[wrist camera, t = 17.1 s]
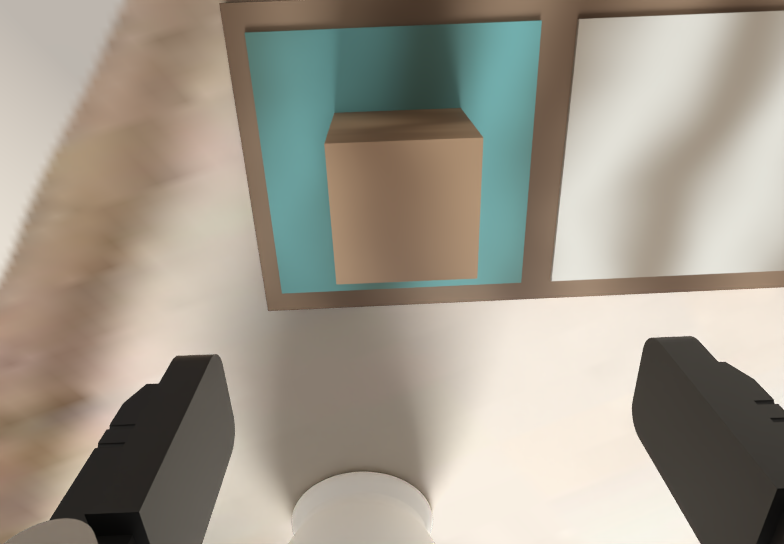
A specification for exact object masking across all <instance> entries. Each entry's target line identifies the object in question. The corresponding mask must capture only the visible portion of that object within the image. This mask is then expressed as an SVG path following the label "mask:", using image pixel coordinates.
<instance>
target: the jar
mask: <svg viewBox="0 0 784 544" xmlns="http://www.w3.org/2000/svg"><path fill="white" fill-rule="evenodd" d="M432 526H433V515H432V511H431V508H430V505H429V503H428V501H427V500H426V498H425V497H424V496H423V494H422V493H421V492H420V491H419V490H417V489H416V488H415V487H414V486H412V485H411V484H409V483H408V482H406V481H404V480H402V479H399V478H397V477H394V476H391V475H387V474H383V473H377V472H350V473H344V474H340V475H336V476H333V477H330V478H327V479H325V480H323V481H321V482H319V483H317V484H316V485H314V486H312V487H311V488H310V489H309V490H307V491H306V492H305V493H304V494H303V495H302V497H301V498H300V499H299V501H298V502H297V504H296V506H295V508H294V511H293V515H292V530H293V534H294V536H293V538H292V539H291V541H290V542H289V544H435V542H434V541H433V539H432V537H431V536H430V534H431V531H432Z"/></svg>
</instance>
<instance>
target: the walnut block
mask: <svg viewBox="0 0 784 544" xmlns="http://www.w3.org/2000/svg"><path fill="white" fill-rule="evenodd" d="M324 147H325V158H326V170H327V182H328V193H329V205H330V216H331V228H332V239H333V251H334V262H335V274H336V284H360V283H384V282H408V281H432V280H456V279H477V275H478V252H479V228H480V205H481V182H482V159H483V136H482V135H481V134H480V132H479V131H478V130H477V128H476V127H475V126H474V124H473V123H472V122H471V121H470V119H469V118H468V117H467V115H466V114H465V113H464V111H463V110H462V109H461V108H447V109H420V110H394V111H367V112H341V113H334V115H333V118H332V121H331V124H330V127H329V131H328V134H327V137H326V140H325V143H324Z"/></svg>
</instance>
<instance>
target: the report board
mask: <svg viewBox="0 0 784 544" xmlns="http://www.w3.org/2000/svg"><path fill="white" fill-rule="evenodd" d="M219 4H220V11H221V17H222V23H223V30H224V36H225V42H226V48H227V55H228V61H229V67H230V74H231V80H232V86H233V93H234V99H235V105H236V111H237V118H238V124H239V130H240V137H241V143H242V149H243V156H244V162H245V168H246V174H247V181H248V187H249V193H250V200H251V206H252V212H253V218H254V225H255V231H256V237H257V244H258V250H259V256H260V263H261V269H262V275H263V281H264V288H265V294H266V300H267V307H268V311H278V310H299V309H321V308H343V307H364V306H386V305H408V304H430V303H451V302H473V301H495V300H516V299H538V298H560V297H582V296H603V295H625V294H647V293H668V292H690V291H712V290H733V289H755V288H777V287H784V0H285V1H260V2H235V3H219ZM447 108H461V109H462V110H463V111H464V113H465V114H466V115H467V117H468V118H469V119H470V121H471V122H472V123H473V124H474V126H475V127H476V128H477V130H478V131H479V132H480V134H481V135H482V136H483V159H482V182H481V205H480V228H479V252H478V275H477V279H456V280H432V281H408V282H384V283H360V284H336V274H335V262H334V251H333V239H332V228H331V216H330V205H329V193H328V182H327V170H326V158H325V147H324V143H325V140H326V137H327V134H328V131H329V127H330V124H331V121H332V118H333V115H334V113H341V112H367V111H394V110H420V109H447Z"/></svg>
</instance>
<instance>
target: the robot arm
mask: <svg viewBox="0 0 784 544" xmlns="http://www.w3.org/2000/svg"><path fill="white" fill-rule="evenodd" d="M632 416H633V423H634V427H635V430H636V432H637V435H638V437H639V439H640V440H641V442H642V444H643V446H644V447H645V449H646V451H647V452H648V454H649V456H650V458H651V459H652V461H653V463H654V464H655V466H656V468H657V470H658V471H659V473H660V475H661V476H662V478H663V480H664V482H665V483H666V485H667V487H668V488H669V490H670V492H671V494H672V495H673V497H674V499H675V500H676V502H677V504H678V506H679V507H680V509H681V511H682V512H683V514H684V516H685V518H686V519H687V521H688V523H689V524H690V526H691V528H692V530H693V531H694V533H695V535H696V536H697V538H698V540H699V542H700V543H701V544H784V410H783V409H782V408H781V407H780V406H779V404H774V399H773V398H772V397H771V396H770V395H769V394H768V393H767V392H766V391H765V390H764V389H763V388H762V387H761V386H760V385H759V384H758V383H757V382H756V381H755V380H754V379H753V378H751V377H749V376H748V375H746V374H745V373H743V372H741V371H740V370H738V369H736V368H735V367H733V366H731V365H730V364H728V363H726V362H718V361H717V360H716V359H715V358H714V357H713V356H712V355H711V354H710V353H709V351H708V350H707V349H706V348H705V347H704V346H703V345H702V344H701V343H700V342H699V341H698V340H697V339H696V338H694V337H692V336H684V337H659V338H649V339H648V340H647V341H646V343H645V345H644V348H643V352H642V357H641V362H640V367H639V372H638V377H637V382H636V387H635V392H634V397H633V403H632ZM234 436H235V424H234V416H233V411H232V407H231V402H230V397H229V392H228V388H227V383H226V378H225V373H224V369H223V364H222V361H221V359H220V357H219V356H218V355H217V354H213V355H188V356H176V357H175V358H174V359H173V360H172V362H171V363H170V365H169V367H168V369H167V370H166V372H165V374H164V376H163V377H162V379H161V381H160V383H159V384H146V385H145V386H144V387H142V388H141V389H140V390H139V391H138V392H136V393H135V394H134V395H133V396H132V397H130V398H129V399H128V400H127V401H126V402H124V403H123V405H122V406H121V408H120V409H119V411H118V413H117V414H116V416H115V417H114V419H113V420H112V422H111V424H110V429H108V430H106V432H105V433H104V435H103V436H102V438H101V439H100V441H99V443H98V448H95V449H94V450H93V452H92V454H91V455H90V457H89V458H88V460H87V462H86V463H85V465H84V466H83V468H82V469H81V471H80V473H79V474H78V476H77V477H76V479H75V481H74V482H73V484H72V485H71V487H70V488H69V490H68V492H67V493H66V495H65V496H64V498H63V499H62V501H61V503H60V504H59V506H58V507H57V509H56V511H55V512H54V514H53V515H52V517H51V518H50V520H49V521H46V522H43V523H40V524H37V525H35V526H32V527H30V528H28V529H26V530H24V531H22V532H20V533H18V534H17V535H15V536H14V537H12V538H11V539H9V540H8V541H7V542H5V543H4V544H202V542H203V539H204V536H205V533H206V530H207V527H208V524H209V521H210V518H211V515H212V512H213V509H214V505H215V502H216V499H217V496H218V493H219V490H220V487H221V484H222V481H223V478H224V475H225V472H226V469H227V466H228V463H229V460H230V457H231V454H232V450H233V445H234Z"/></svg>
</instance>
